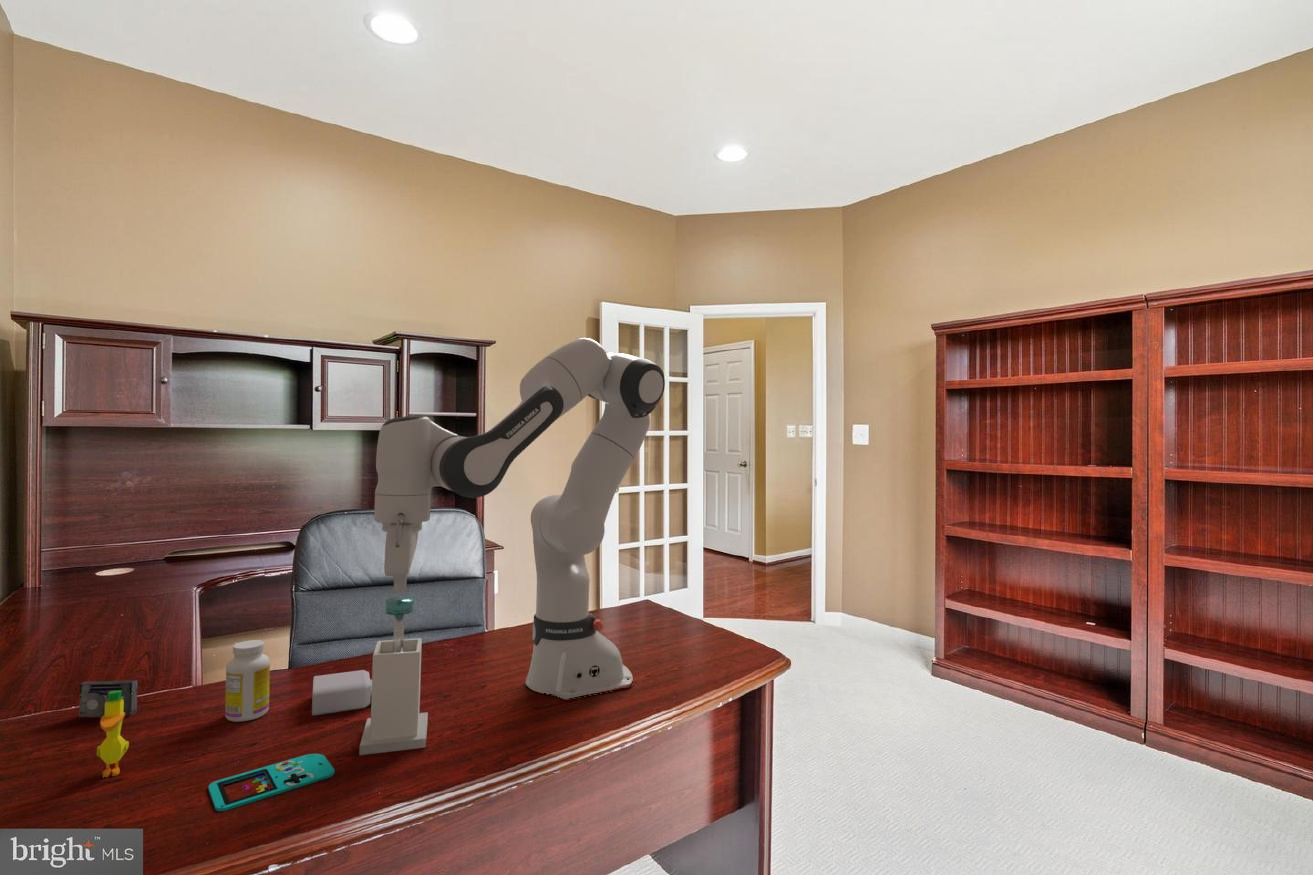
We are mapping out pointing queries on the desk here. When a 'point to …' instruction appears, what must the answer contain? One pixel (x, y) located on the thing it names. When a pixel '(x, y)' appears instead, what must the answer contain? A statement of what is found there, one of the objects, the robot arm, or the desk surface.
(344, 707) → the charger
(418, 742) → the press housing
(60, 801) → the desk surface
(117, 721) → the toy figure
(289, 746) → the desk surface
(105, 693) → the mini dv tape
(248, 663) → the supplement bottle
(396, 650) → the plunger
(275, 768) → the handheld gaming console
